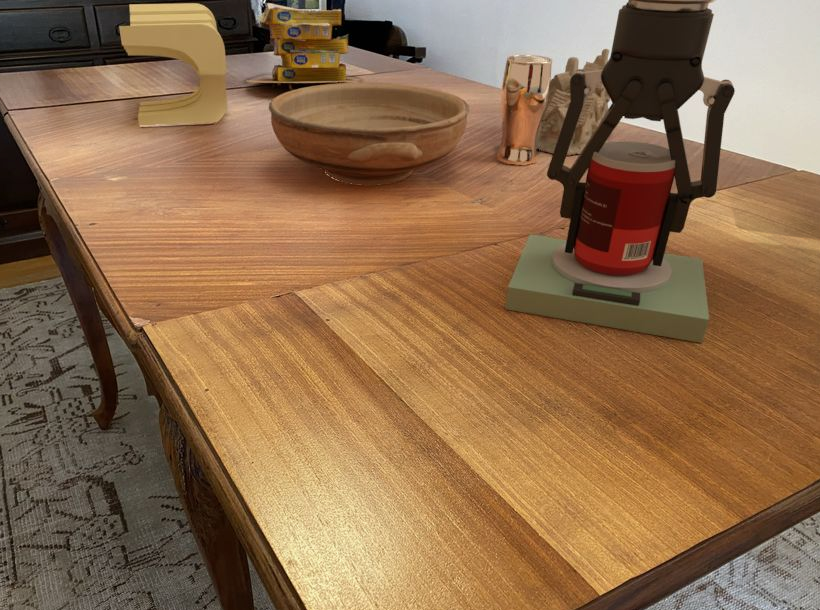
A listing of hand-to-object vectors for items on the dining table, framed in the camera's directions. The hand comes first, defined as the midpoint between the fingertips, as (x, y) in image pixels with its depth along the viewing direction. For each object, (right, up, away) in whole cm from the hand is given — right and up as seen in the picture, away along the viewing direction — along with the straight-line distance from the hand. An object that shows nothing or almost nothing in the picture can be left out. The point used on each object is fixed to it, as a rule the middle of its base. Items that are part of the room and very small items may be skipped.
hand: (612, 253), depth 71 cm
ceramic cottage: (+9, +26, +50) cm, 57 cm away
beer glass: (-1, +20, +40) cm, 45 cm away
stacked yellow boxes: (-37, +47, +83) cm, 103 cm away
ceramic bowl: (-24, +17, +35) cm, 46 cm away
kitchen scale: (0, -4, +1) cm, 4 cm away
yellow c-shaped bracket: (-58, +34, +62) cm, 91 cm away
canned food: (0, -1, 0) cm, 1 cm away
